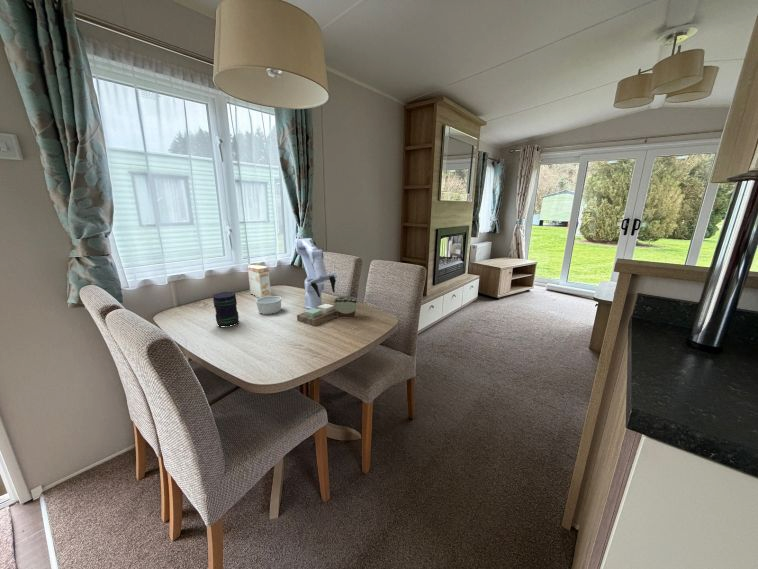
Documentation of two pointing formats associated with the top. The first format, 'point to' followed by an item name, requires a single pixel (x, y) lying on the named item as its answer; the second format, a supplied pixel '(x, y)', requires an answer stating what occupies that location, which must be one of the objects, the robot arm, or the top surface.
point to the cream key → (326, 307)
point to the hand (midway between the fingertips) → (326, 294)
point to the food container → (345, 307)
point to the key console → (317, 317)
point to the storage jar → (226, 308)
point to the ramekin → (269, 304)
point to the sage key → (313, 312)
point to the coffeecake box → (259, 280)
